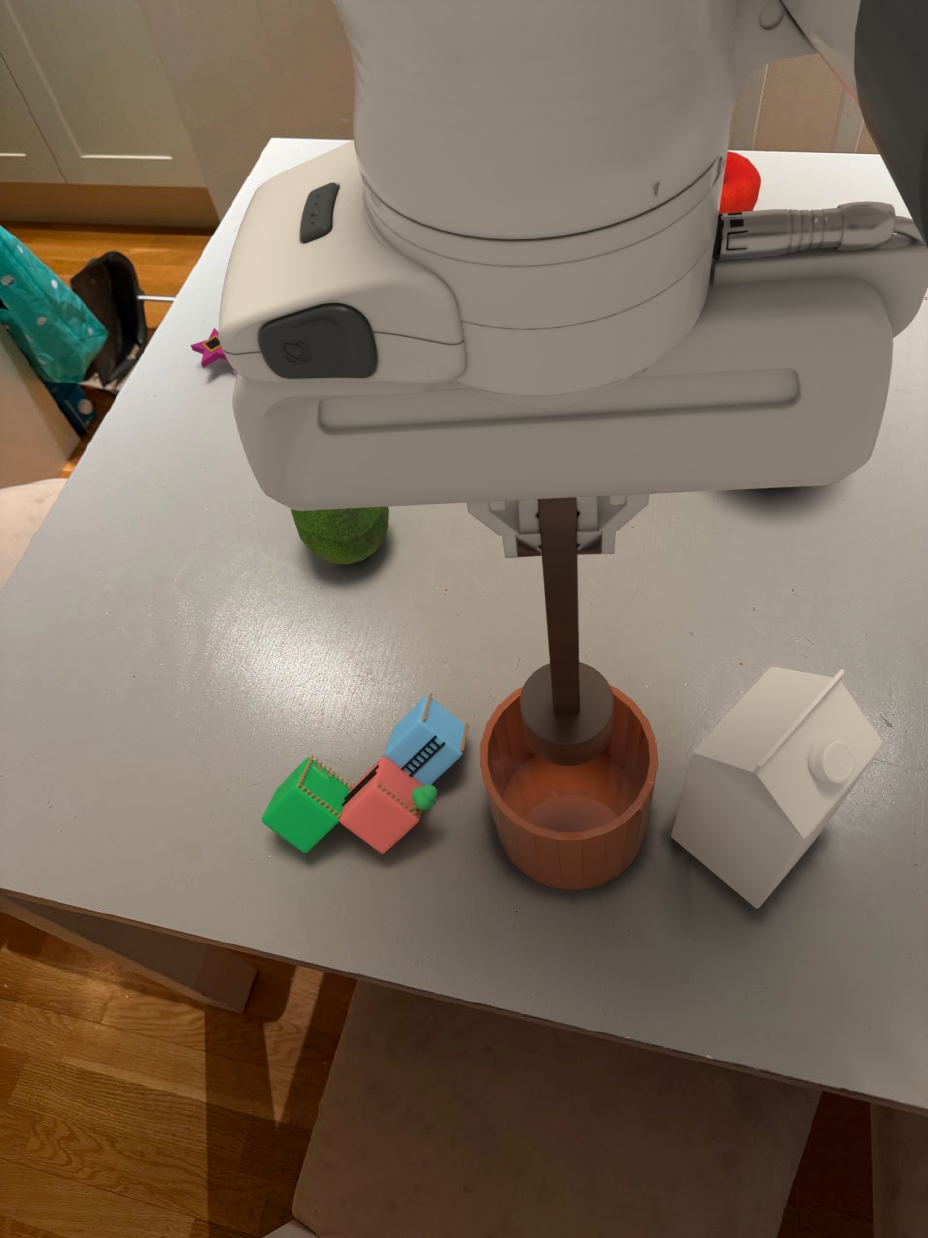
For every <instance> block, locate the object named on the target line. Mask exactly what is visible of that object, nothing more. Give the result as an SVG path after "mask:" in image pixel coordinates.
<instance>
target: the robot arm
mask: <svg viewBox="0 0 928 1238" xmlns="http://www.w3.org/2000/svg"><path fill="white" fill-rule="evenodd" d="M331 2H332V5H333V6H334V8H335V10H336V13H337V14H338V15H337V16H338V17H339V19H340V21H341V24H342V26H343V29H344V32H345V35H346V38H347V41H348V45H349V49H350V53H351V60H352V68H353V77H354V100H353V111H352V112H353V113H352V135H353V139H352V140H349V141H348V142H346V143H344V144H342V145H340V146H338V147H336V148H334V149H331V150H329V151H327V152H325V153H323V154H320V155H318V156H316V157H314V158H311V159H309V160H307V161H304V162H303V163H300V164H298V165H295V166H293V167H291V168H289V169H287V170H285V171H283V172H280V173H278V174H275V175H274V176H272V177H270V178H268V179H267V180H266V181H263V182H262V183H261V184H259V186H258V187H257V188H256V189H255V191H254V193H253V195H252V197H251V200H250V201H249V203H248V205H247V207H246V210H245V212H244V215H243V217H242V220H241V223H240V225H239V227H238V231H237V234H236V237H235V239H234V241H233V242H234V243H233V246H232V249H231V252H230V256H229V259H228V263H227V267H226V272H225V276H224V280H223V285H222V292H221V298H220V299H221V300H220V307H219V317H218V336H219V341H220V345H221V347H222V349H223V352H224V354H225V356H226V358H227V360H226V361H228V363H229V365H230V366H231V367H232V369H233V370H234V371H235V372H236V373H237V374H236V378H235V383H234V389H233V392H232V411H233V417H234V421H235V424H236V425H235V426H236V428H237V432H238V436H239V439H240V442H241V445H242V449H243V451H244V454H245V456H246V459H247V462H248V464H249V466H250V469H251V471H252V475H253V476H254V478H255V480H256V482H257V484H258V486H259V487H260V490H262V493H264V494H265V495H266V496H267V497H268V498H270V499H272V500H274V501H276V502H277V503H279V504H281V505H282V506H285V507H287V508H289V509H290V510H291V509H293V510H297V511H312V510H327V509H347V508H367V507H388V508H389V507H404V506H405V507H407V506H427V505H446V504H448V505H449V504H450V505H451V504H466V508H467V513H468V514H470V515H471V516H472V517H474V518H475V519H476V520H477V521H479V522H480V523H481V524H483V525H484V526H486V527H487V528H488V529H489V530H491V531H492V532H493V533H495V534H496V535H497V536H499V537H501V538H502V546H503V553H504V558H505V559H516V558H517V559H518V558H530V557H542V547H541V533H540V527H539V514H538V500H537V499H551V498H571V497H577V555H578V556H581V555H582V556H586V555H587V556H588V555H590V556H591V555H615V552H616V538H617V537H616V536H617V535H616V534H617V531H620V530H621V529H622V528H623V527H625V526H626V525H627V524H628V523H629V522H630V521H631V520H632V519H634V518H635V517H636V516H637V515H638V514H640V512H641V511H642V510H644V508H646V507H647V506H648V505H649V501H650V495H652V494H669V493H670V494H671V493H673V494H674V493H691V492H692V493H693V492H695V493H696V492H712V491H715V492H716V491H734V490H735V491H736V490H753V489H755V490H757V489H764V488H776V487H787V488H795V487H796V488H797V487H817V486H818V487H820V486H830V485H835V484H837V483H839V482H841V481H843V480H845V479H846V478H847V477H850V476H851V475H852V474H853V473H856V472H857V471H858V470H859V469H861V468H863V467H864V466H865V465H866V464H867V463H868V462H869V461H870V459H871V457H872V455H873V453H874V450H875V447H876V443H877V440H878V437H879V434H880V431H881V426H882V422H883V418H884V415H885V410H886V405H887V400H888V395H889V394H888V393H889V389H890V383H891V377H892V368H893V357H894V338H896V337H897V336H899V335H900V334H901V333H902V332H904V330H906V329H907V328H908V326H909V325H911V323H912V322H913V321H914V319H915V318H916V316H917V315H918V313H919V311H920V310H921V306H922V305H923V302H924V298H925V296H926V294H927V291H928V0H331ZM817 53H818V55H819V56H820V57H821V59H822V60H823V61H824V63H825V64H826V66H827V67H828V68H829V70H830V71H831V72H832V74H833V76H835V78H836V79H837V81H838V82H839V83H840V84H841V86H842V87H843V88H844V90H845V91H846V93H847V94H848V96H849V97H850V98H851V100H853V102H854V103H855V105H856V106H857V107H858V109H859V110H860V112H861V116H862V119H863V121H864V122H863V123H864V125H865V128H866V129H867V130H866V131H867V132H868V134H869V136H870V138H871V140H872V142H873V145H874V146H875V148H876V150H877V152H878V154H879V156H880V158H881V159H882V161H883V164H884V166H885V168H886V169H887V171H888V174H889V176H890V178H891V179H892V182H893V184H894V186H895V188H896V189H897V191H898V193H899V196H900V197H901V199H902V201H903V204H904V205H905V207H906V209H907V211H908V214H909V215H910V217H911V218H909V217H906V216H902V215H897V214H896V209H895V206H894V205H893V204H892V203H887V202H880V201H855V202H847V203H843V204H839V205H837V207H832V208H822V209H810V210H809V209H800V210H799V209H791V208H790V209H787V208H780V209H779V208H775V209H772V208H771V209H759V210H753V211H747V212H735V213H723V214H719V208H720V201H721V194H722V187H723V179H724V172H725V165H726V158H727V151H729V144H730V143H729V142H730V135H731V129H732V121H733V116H734V115H733V114H734V108H735V106H736V102H737V99H738V97H739V95H740V94H741V93H740V92H741V91H742V89H743V87H744V86H745V84H746V83H747V82H748V81H749V79H751V77H752V76H753V75H754V74H755V73H756V72H757V71H759V70H760V69H761V68H763V67H765V66H766V65H768V64H771V63H773V62H777V61H782V60H786V59H787V60H788V59H793V58H798V57H804V56H810V55H816V54H817Z"/></svg>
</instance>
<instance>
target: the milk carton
mask: <svg viewBox="0 0 928 1238" xmlns="http://www.w3.org/2000/svg"><path fill="white" fill-rule="evenodd" d="M845 672H846V670H845V669H843V668H841V669H840V670H839V671H837V673H836V675H835V676H828V675H822V674H817V673H812V672H805V671H800V670H795V669H788V668H783V667H777V666H770V667H768V669H767V670H766V671H765V672H764V673H763V674H762V675H761V676H760V677H759V678H758V680H757V681H755V682H754V684H753V685H752V686H751V687H750V688H749V689H748V691H746V693H745V694H744V695H743V696H742V697H741V698H740V699H738V702H736V703H735V704H734V706H732V708H731V709H730V710H729V711H728V712H727V713H726V714H725V715H724V716H723V718H721V720H720V721H719V722H718V723H717V724H716V725H715V726H714V727H713V728H712V729H711V731H709V733H708V734H707V735H706V736H705V737H704V738H703V739H702V740H701V741H700V742H699V744H698V745H697V746H696V747H695V748H694V749H693V751H692V753H691V758H690V761H689V765H688V769H687V774H686V776H685V781H684V785H683V789H682V792H681V796H680V800H679V804H678V808H677V811H676V814H675V819H674V823H673V827H672V830H671V834H670V838H672V840H674V841H675V842H676V843H677V844H679V846H681V847H682V848H684V849H685V851H687V852H688V853H689V854H691V855H692V856H693V857H694V858H696V859H697V860H698V861H699V862H700V863H701V864H702V865H704V867H706V868H707V869H709V870H710V871H711V872H712V873H713V874H714V875H716V877H718V878H719V879H720V880H722V882H724V883H725V884H726V885H727V886H729V887H730V888H732V890H733V891H735V892H736V893H737V894H738V895H739V896H741V898H743V899H744V900H745V901H746V902H748V903H749V904H750V905H751V906H752V907H753V908H755V909H757V910H758V909H759V908H760V907H761V906H762V905H763V904H764V903H765V901H767V899H769V897H770V896H771V894H772V893H773V892H774V891H775V890H776V888H777V887H778V886H780V884H781V882H782V881H783V880H784V879H785V878H786V877H787V875H788V874H789V873H790V871H792V869H793V867H795V865H796V864H797V863H798V862H799V861H800V859H802V857H803V856H804V855H805V854H806V852H807V851H808V850H809V849H810V848H811V846H813V844H814V842H815V841H816V840H817V839H818V837H819V836H820V835H821V833H822V832H823V831H824V830H825V828H826V827H827V825H828V824H829V822H830V820H831V819H833V816H834V815H835V814H836V813H837V811H838V809H839V808H840V807H841V805H842V804H843V803H844V802H845V800H846V799H847V797H848V796H849V794H850V793H851V792H852V791H853V789H854V788H855V786H856V784H857V783H858V782H859V780H860V779H861V778H862V776H863V775H864V773H865V772H866V770H867V769H868V768H869V766H870V765H871V763H872V762H873V761H874V760H875V758H876V756H877V755H878V753H879V752H880V751H881V749H882V746H883V741H882V739H881V737H880V736H879V734H878V733H877V732H876V730H875V729H874V727H873V726H872V724H871V723H870V721H869V720H868V718H867V717H866V716H865V713H864V712H863V711H862V710H861V708H860V706H859V705H858V704H857V702H856V701H855V699H854V698H853V696H852V695H851V694H850V692H849V691H848V689H847V687H846V686H845V685H844V683H843V681H842V677H844V674H845Z"/></svg>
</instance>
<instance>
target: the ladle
mask: <svg viewBox="0 0 928 1238" xmlns="http://www.w3.org/2000/svg"><path fill="white" fill-rule="evenodd" d="M537 500H538V514H539V527H540V533H541V547H542V556H541V564H542V565H541V566H542V579H543V591H544V593H543V594H544V605H545V617H546V618H545V619H546V631H547V632H546V633H547V645H548V657H549V663H547V664H545V665H542V666H541V667H539V668H538V669H536V670H535V671H534V672H532V673H531V675H530V676H529V677H528V678H527V680H526V681H524V682H525V683H524V684H523V685H522V687H523V689H522V691H521V695H520V711H521V718H522V724H523V731H524V735H525V738H526V741H527V743H528V744H529V746H530V747H531V749H532V750H533V751H534V752H535V753H536V754H537V755H538V756H539V757H541V758H542V759H544V760H546V761H548V762H550V763H553V764H556V765H561V766H575V765H580V764H583V763H586V762H588V761H591V760H592V759H594V758H595V757H597V756H598V755H599V754H600V753H601V752H602V751H603V750H604V749H605V747H606V746H607V744H608V742H609V740H610V738H611V735H612V729H613V712H614V698H613V693H612V689H611V687H610V685H611V684H610V683H609V682H608V680H607V678H605V676H604V675H603V674H602V673H601V672H600V671H599V670H597V669H596V668H594V666H593V667H592V666H590V665H589V664H586V663H583V662H580V625H579V624H580V621H579V619H580V615H579V563H578V562H579V561H578V560H579V559H578V558H579V557H578V556H579V555H577V497H571V498H551V499H537Z"/></svg>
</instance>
